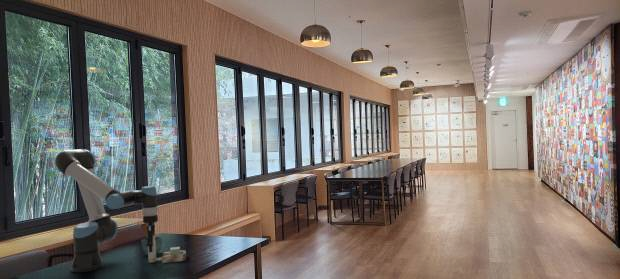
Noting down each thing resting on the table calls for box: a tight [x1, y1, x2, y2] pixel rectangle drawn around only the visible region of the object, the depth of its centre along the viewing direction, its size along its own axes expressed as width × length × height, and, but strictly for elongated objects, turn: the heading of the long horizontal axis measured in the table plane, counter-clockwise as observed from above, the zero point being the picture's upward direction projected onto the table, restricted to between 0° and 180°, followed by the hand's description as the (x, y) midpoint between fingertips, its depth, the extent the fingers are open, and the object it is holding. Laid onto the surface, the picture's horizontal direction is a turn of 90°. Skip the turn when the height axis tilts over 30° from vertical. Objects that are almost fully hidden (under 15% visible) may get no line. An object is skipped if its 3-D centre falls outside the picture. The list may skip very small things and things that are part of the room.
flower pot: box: [140, 236, 163, 256], centre depth 264 cm, size 9×9×9 cm
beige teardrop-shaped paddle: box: [147, 234, 181, 264], centre depth 247 cm, size 16×5×14 cm, turn 104°
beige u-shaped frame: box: [161, 249, 187, 264], centre depth 249 cm, size 12×9×4 cm
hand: (152, 255), depth 246 cm, fingers open, 11 cm apart
